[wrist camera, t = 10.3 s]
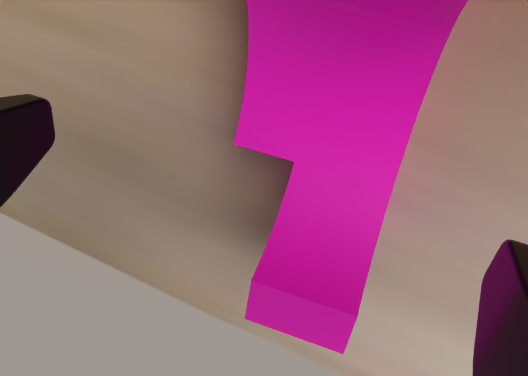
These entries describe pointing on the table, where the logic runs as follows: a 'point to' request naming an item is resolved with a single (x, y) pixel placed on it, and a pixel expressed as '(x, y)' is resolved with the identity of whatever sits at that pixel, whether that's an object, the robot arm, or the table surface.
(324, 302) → the toy block
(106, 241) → the table surface
